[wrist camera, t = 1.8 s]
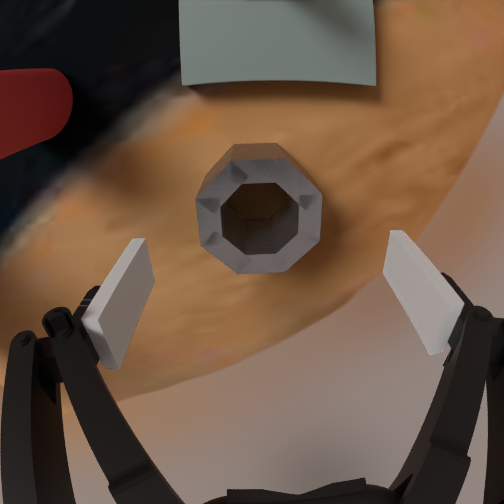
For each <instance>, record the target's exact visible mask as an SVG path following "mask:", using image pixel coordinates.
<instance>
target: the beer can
mask: <svg viewBox="0 0 504 504" xmlns="http://www.w3.org/2000/svg"><path fill="white" fill-rule="evenodd" d="M72 104H73V96H72V88H71V86H70V84H69V81H68V79H67V78H66V77H65V76H64V75H63V74H62V73H61V72H59V71H57V70H55V69H19V70H3V71H0V159H2V158H4V157H6V156H8V155H11V154H13V153H15V152H18V151H20V150H22V149H25V148H27V147H30V146H32V145H35V144H37V143H40V142H42V141H45V140H48V139H50V138H53V137H54V136H55V135H57V134H58V133H59V132H61V130H62V129H63V127H64V126H65V125H66V123H67V122H68V119H69V116H70V114H71V111H72Z"/></svg>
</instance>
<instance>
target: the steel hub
mask: <svg viewBox="0 0 504 504" xmlns="http://www.w3.org/2000/svg"><path fill="white" fill-rule="evenodd" d="M249 183H277V184H278V185H279V186H280V187H281V188H282V189H283V190H284V191H286V192H287V203H286V204H285V205H284V206H283V207H282V208H281V209H280V210H279V211H278V212H277V213H276V214H275V215H273V216H272V217H271V218H270V219H257V220H245V219H244V218H242V217H241V216H240V215H239V214H238V213H236V212H235V211H234V210H233V209H232V208H230V207H229V206H228V205H227V199H228V198H229V197H230V196H231V195H232V194H233V193H234V192H235V191H236V190H237V189H238V188H239V187H240V185H241V184H249ZM196 208H197V217H198V226H199V234H200V243H201V246H202V247H203V248H204V249H206V250H207V251H208V252H210V253H211V254H212V255H214V256H215V257H216V258H217V259H219V260H220V261H221V262H223V263H224V264H225V265H227V266H228V267H229V268H231V269H232V270H233V271H235V272H236V273H237V274H249V273H273V272H285V271H286V270H288V269H289V268H290V267H291V266H292V265H293V264H294V263H296V262H297V261H298V260H299V259H300V258H301V257H302V256H303V255H305V254H306V253H307V252H308V251H309V250H310V249H311V248H312V247H314V246H315V245H316V244H317V243H318V242H319V241H320V228H321V212H322V193H321V192H320V190H319V189H318V188H317V186H316V185H315V183H314V182H313V181H312V179H311V178H310V176H309V175H308V174H307V172H306V171H305V170H304V169H303V168H302V167H301V166H300V165H299V164H298V163H297V162H296V161H295V160H294V159H293V158H292V157H291V156H290V155H289V154H288V153H287V152H285V151H284V150H283V149H282V148H281V147H280V146H279V145H278V144H277V143H256V144H234V145H233V146H232V147H231V148H230V149H229V150H228V151H227V152H226V153H225V155H224V156H223V157H222V158H221V159H220V160H219V161H218V162H217V163H216V164H215V165H214V167H213V168H212V169H211V170H210V171H209V172H208V173H207V174H206V176H205V179H204V181H203V183H202V185H201V188H200V190H199V192H198V195H197V197H196Z"/></svg>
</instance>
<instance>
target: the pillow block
mask: <svg viewBox="0 0 504 504" xmlns="http://www.w3.org/2000/svg"><path fill="white" fill-rule="evenodd" d="M179 26H180V53H181V74H182V86H191V85H202V84H213V83H228V82H249V81H307V82H327V83H342V84H353V85H363V86H376V46H375V25H374V10H373V0H179Z"/></svg>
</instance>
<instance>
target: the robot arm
mask: <svg viewBox="0 0 504 504" xmlns="http://www.w3.org/2000/svg"><path fill="white" fill-rule="evenodd" d="M383 275H384V276H385V278H386V280H387V281H388V283H389V284H390V286H391V288H392V290H393V291H394V293H395V295H396V296H397V298H398V300H399V301H400V303H401V305H402V306H403V308H404V310H405V312H406V314H407V315H408V317H409V319H410V321H411V322H412V324H413V326H414V328H415V329H416V331H417V333H418V335H419V337H420V338H421V340H422V342H423V344H424V346H425V348H426V350H427V352H428V354H429V355H433V354H438V353H443V351H444V349H445V347H446V345H447V343H449V345H450V347H451V350H450V352H449V354H448V356H447V358H446V360H445V362H444V364H443V366H444V370H443V373H442V376H441V379H440V382H439V385H438V388H437V390H436V393H435V396H434V398H433V401H432V403H431V406H430V408H429V411H428V413H427V416H426V418H425V421H424V423H423V425H422V427H421V430H420V432H419V434H418V436H417V439H416V441H415V443H414V445H413V447H412V449H411V452H410V453H409V456H408V458H407V459H406V461H405V463H404V465H403V467H402V469H401V471H400V473H399V474H398V476H397V477H396V479H395V480H394V482H393V483H392V484H391V486H390V487H389V489H387V488H385V487H381V486H377V485H369V484H366V480H365V478H360V479H355V480H349V481H343V482H336V483H332V484H329V485H326V486H324V487H321V488H318V489H315V490H312V491H309V492H307V493H303V494H300V495H294V494H287V493H281V492H275V491H269V490H263V489H227V496H223V497H219V498H216V499H213V500H210V501H208V502H205V503H204V504H455V503H456V500H457V498H458V496H459V493H460V491H461V488H462V486H463V483H464V480H465V477H466V475H467V472H468V469H469V466H470V462H471V458H470V457H468V456H467V453H468V449H469V446H470V443H471V439H472V436H473V432H474V429H475V425H476V421H477V418H478V413H479V410H480V405H481V400H482V396H483V391H484V387H485V381H486V387H487V402H488V403H487V405H488V452H487V468H486V480H485V490H484V501H483V504H504V319H503V318H494V317H493V315H492V314H491V313H490V311H488V310H487V309H486V308H483V307H481V306H474V305H473V304H472V303H471V301H470V300H469V299H468V298H467V296H466V295H465V294H464V293H463V291H461V289H460V288H459V286H457V284H456V283H455V282H454V280H453V279H452V278H451V277H449V276H448V275H446V274H445V273H440V272H439V271H438V270H437V269H436V267H435V266H434V265H433V264H432V263H431V262H430V260H429V259H428V258H427V257H426V256H425V255H424V254H423V252H422V251H421V250H420V249H419V248H418V247H417V246H416V244H415V243H414V242H413V241H412V240H411V239H410V238H409V237H408V236H407V235H406V233H405V232H404V231H403V230H390V236H389V242H388V248H387V253H386V258H385V264H384V269H383ZM154 282H155V279H154V275H153V271H152V266H151V262H150V257H149V252H148V247H147V242H146V238H136V239H132V240H131V242H130V243H129V245H128V246H127V247H126V249H125V250H124V252H123V253H122V255H121V256H120V258H119V259H118V261H117V262H116V264H115V265H114V267H113V268H112V270H111V271H110V273H109V274H108V276H107V278H106V279H105V281H104V282H103V284H102V285H101V286H95V287H93V288H92V289H91V290H90V291H88V292H87V294H86V295H85V297H84V298H83V300H82V302H81V303H80V306H78V308H77V309H76V311H75V313H74V314H73V316H72V314H71V312H70V310H69V309H68V308H66V307H57V308H54V309H52V310H50V311H49V312H47V313H46V314H45V315H44V317H43V319H42V325H43V327H44V329H45V331H46V332H47V334H48V336H49V337H45V338H39V339H37V337H36V335H35V334H34V333H33V332H32V331H29V330H27V331H23V332H20V333H18V334H17V335H16V336H15V337H14V338H13V339H12V341H11V344H10V350H9V356H8V362H7V369H6V376H5V384H4V394H3V403H2V417H1V479H2V480H1V481H2V494H3V503H4V504H76V502H75V498H74V493H73V488H72V483H71V478H70V473H69V467H68V461H67V454H66V447H65V439H64V431H63V420H62V408H61V392H60V383H61V382H64V385H65V388H66V390H67V393H68V396H69V398H70V401H71V403H72V406H73V408H74V411H75V413H76V416H77V418H78V420H79V423H80V425H81V427H82V429H83V432H84V434H85V436H86V438H87V441H88V443H89V445H90V447H91V449H92V451H93V453H94V455H95V457H96V459H97V461H98V463H99V465H100V467H101V469H102V470H103V472H104V474H105V476H106V478H107V480H108V482H109V486H108V488H109V491H110V493H111V494H112V496H113V498H114V500H115V501H116V503H117V504H185V503H184V502H183V501H182V500H181V498H180V497H179V496H178V495H177V494H176V492H175V491H174V490H173V488H172V487H171V486H170V485H169V483H168V482H167V481H166V479H165V478H164V477H163V475H162V474H161V473H160V471H159V470H158V468H157V467H156V466H155V464H154V463H153V461H152V460H151V459H150V457H149V455H148V454H147V453H146V451H145V450H144V448H143V447H142V445H141V443H140V442H139V440H138V439H137V437H136V436H135V434H134V433H133V431H132V429H131V428H130V426H129V425H128V423H127V421H126V419H125V418H124V416H123V414H122V413H121V411H120V410H119V408H118V406H117V404H116V402H115V400H114V399H113V397H112V395H111V393H110V391H109V389H108V388H107V386H106V384H105V382H104V380H103V378H102V376H101V374H100V372H99V370H98V368H97V366H96V365H97V363H98V361H99V359H100V361H101V363H102V365H103V367H104V368H108V369H118V370H120V367H121V364H122V362H123V359H124V356H125V354H126V351H127V349H128V346H129V343H130V341H131V338H132V336H133V333H134V331H135V328H136V326H137V323H138V321H139V318H140V316H141V313H142V311H143V308H144V306H145V304H146V301H147V299H148V296H149V294H150V292H151V289H152V287H153V285H154Z"/></svg>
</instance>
